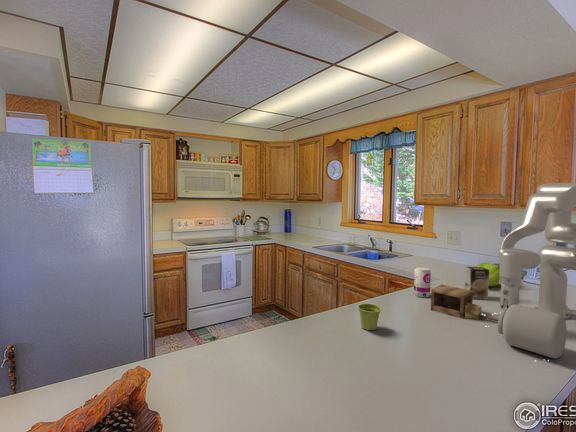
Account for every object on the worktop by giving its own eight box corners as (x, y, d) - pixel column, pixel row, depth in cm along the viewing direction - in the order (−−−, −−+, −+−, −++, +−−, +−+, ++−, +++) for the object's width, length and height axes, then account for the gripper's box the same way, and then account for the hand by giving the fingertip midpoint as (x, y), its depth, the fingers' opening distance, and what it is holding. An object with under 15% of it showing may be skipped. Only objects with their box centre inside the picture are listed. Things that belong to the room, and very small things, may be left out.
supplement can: (433, 296, 166) (434, 269, 165) (421, 298, 163) (422, 270, 162) (421, 292, 174) (422, 266, 173) (410, 294, 171) (411, 267, 170)
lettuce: (501, 297, 172) (471, 294, 183) (509, 280, 187) (481, 279, 198) (496, 272, 171) (466, 271, 182) (505, 258, 186) (477, 257, 197)
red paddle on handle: (513, 325, 130) (514, 311, 129) (510, 328, 126) (511, 314, 126) (468, 313, 142) (469, 300, 142) (464, 316, 139) (465, 303, 139)
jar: (547, 357, 94) (466, 318, 116) (552, 379, 101) (475, 339, 122) (575, 311, 99) (493, 282, 120) (578, 335, 106) (500, 304, 127)
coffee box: (469, 299, 162) (470, 269, 161) (464, 295, 168) (465, 266, 167) (488, 299, 161) (489, 269, 160) (481, 296, 167) (483, 266, 166)
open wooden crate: (472, 311, 145) (472, 290, 144) (462, 318, 137) (463, 296, 136) (441, 304, 155) (441, 284, 154) (430, 310, 147) (431, 289, 146)
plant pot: (380, 324, 130) (381, 304, 130) (381, 334, 121) (381, 312, 121) (358, 322, 133) (358, 302, 132) (357, 331, 124) (357, 310, 123)
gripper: (515, 286, 120) (513, 332, 121) (525, 279, 131) (523, 321, 132) (493, 282, 125) (491, 326, 126) (504, 275, 136) (503, 316, 137)
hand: (507, 323), depth 129 cm, fingers closed on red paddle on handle, 3 cm apart
